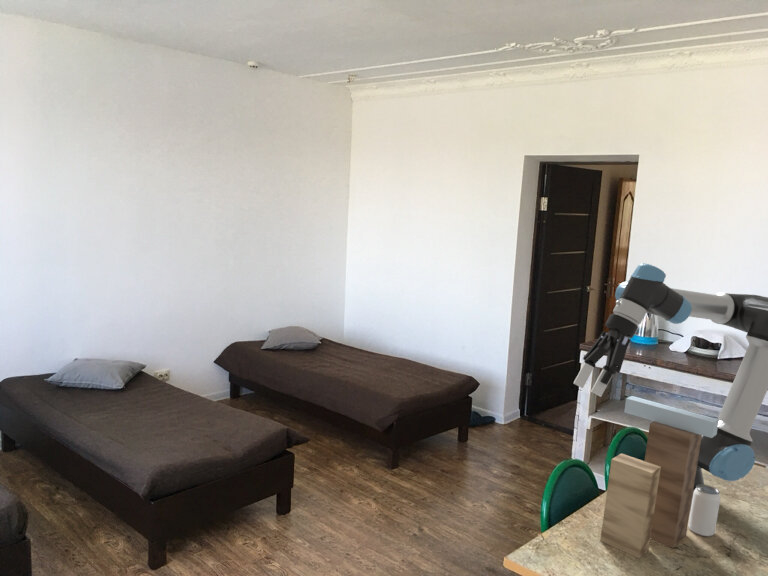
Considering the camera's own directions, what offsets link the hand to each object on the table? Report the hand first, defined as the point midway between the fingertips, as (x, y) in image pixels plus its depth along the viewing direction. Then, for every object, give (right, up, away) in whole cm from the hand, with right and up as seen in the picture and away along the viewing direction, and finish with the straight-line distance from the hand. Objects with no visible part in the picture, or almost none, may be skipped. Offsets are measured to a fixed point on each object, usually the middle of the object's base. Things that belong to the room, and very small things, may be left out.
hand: (586, 390), depth 163 cm
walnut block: (+20, -39, +2) cm, 44 cm away
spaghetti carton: (+21, -9, -1) cm, 23 cm away
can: (+33, -39, +5) cm, 51 cm away
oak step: (+8, -38, -5) cm, 40 cm away
